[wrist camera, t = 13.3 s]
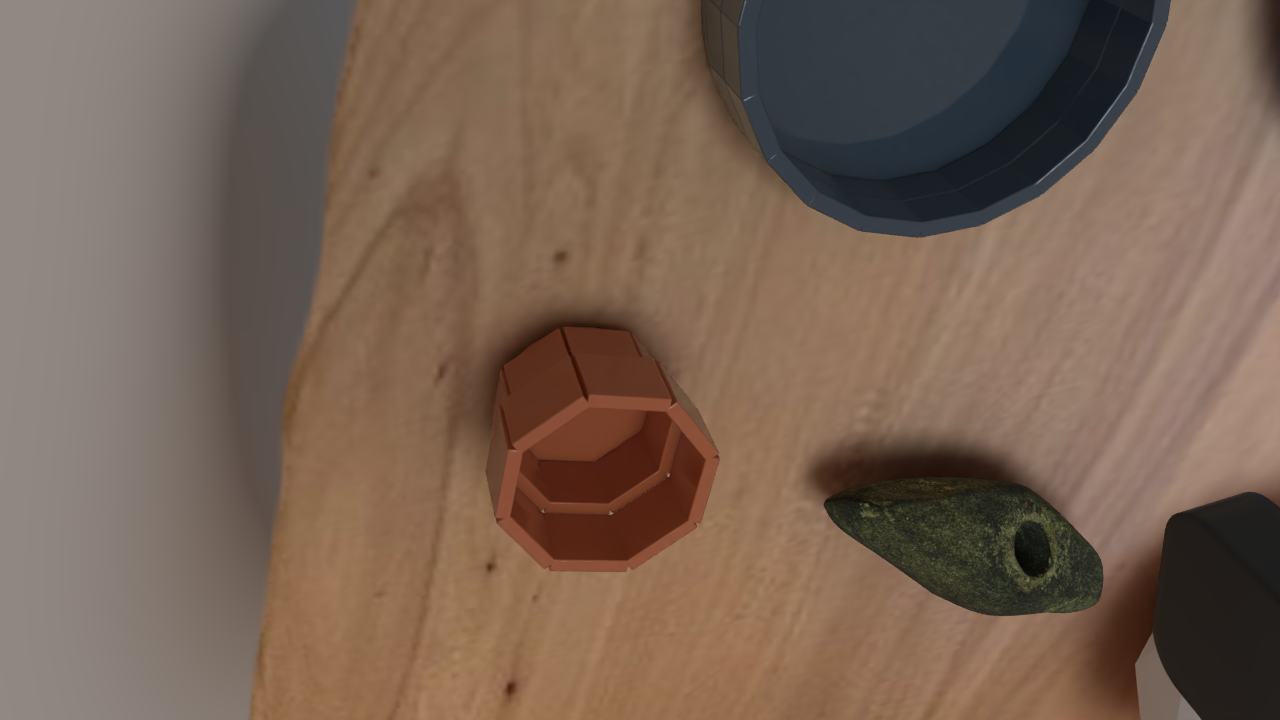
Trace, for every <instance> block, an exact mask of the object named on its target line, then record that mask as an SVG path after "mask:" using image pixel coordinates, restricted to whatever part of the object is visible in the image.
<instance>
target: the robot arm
mask: <svg viewBox="0 0 1280 720" xmlns="http://www.w3.org/2000/svg"><path fill="white" fill-rule="evenodd" d="M1152 628H1153V637H1154V642H1155V646H1156V649H1157V653H1158V655H1159V658H1160V661H1161V663H1162V665H1163V667H1164V669H1165V671H1166V673H1167V675H1168V677H1169V678H1170V680H1171V682H1172V683H1173V685H1174V686H1175V687H1176V689H1177V690H1178V691H1179V693H1180V694H1181V695H1182V696H1183V698H1184V699H1185V700H1186V701H1187V702H1188V704H1189V705H1190V706H1191V707H1192V709H1193V710H1194V711H1195V712H1196V714H1197V715H1198V716H1199V717H1200V718H1201V720H1280V508H1279V507H1278V506H1277V505H1276V504H1275V503H1273V502H1272V501H1271V500H1270V499H1268V498H1266V497H1265V496H1263V495H1261V494H1258V493H1255V492H1246V493H1242V494H1239V495H1235V496H1232V497H1229V498H1226V499H1222V500H1219V501H1216V502H1213V503H1209V504H1206V505H1203V506H1200V507H1196V508H1193V509H1190V510H1187V511H1183V512H1180V513H1177V514H1175V515H1173V516H1172V517H1171V518H1170V519H1169V520H1168V522H1167V525H1166V529H1165V534H1164V541H1163V549H1162V556H1161V563H1160V571H1159V578H1158V585H1157V593H1156V600H1155V607H1154V615H1153V625H1152Z"/></svg>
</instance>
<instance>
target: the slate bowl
mask: <svg viewBox="0 0 1280 720" xmlns="http://www.w3.org/2000/svg"><path fill="white" fill-rule="evenodd" d="M1170 2H1171V0H702V23H703V36H704V44H705V49H706V53H707V58H708V63H709V67H710V70H711V73H712V76H713V79H714V81H715V84H716V87H717V90H718V93H719V94H720V96H721V98H722V100H723V102H724V104H725V106H726V107H727V109H728V111H729V113H730V116H731V118H732V120H733V122H734V124H735V125H736V126H737V127H738V128H739V130H740V131H741V132H742V133H743V135H744V136H745V137H746V138H747V139H748V141H749V142H750V143H751V144H752V145H753V147H754V148H755V149H756V150H757V151H758V153H759V154H760V155H761V156H762V157H763V159H764V160H765V161H766V162H767V163H768V164H769V165H770V167H771V168H772V169H773V170H774V171H775V172H776V173H777V174H778V175H779V176H780V177H781V179H782V180H783V181H784V182H785V183H786V184H787V185H788V186H789V187H790V188H791V189H792V190H793V192H794V193H795V194H796V195H797V196H798V197H799V198H800V199H801V200H802V201H803V202H804V204H806V205H807V206H808V207H810V208H813V209H815V210H817V211H819V212H821V213H823V214H825V215H827V216H829V217H831V218H833V219H835V220H837V221H839V222H841V223H843V224H845V225H847V226H849V227H851V228H853V229H855V230H857V231H862V232H871V233H880V234H889V235H898V236H908V237H917V238H918V237H926V236H931V235H936V234H941V233H946V232H951V231H956V230H961V229H966V228H971V227H976V226H980V225H981V224H982V225H983V224H985V223H987V222H989V221H991V220H993V219H995V218H997V217H999V216H1001V215H1003V214H1005V213H1007V212H1009V211H1011V210H1013V209H1015V208H1017V207H1019V206H1021V205H1023V204H1025V203H1027V202H1029V201H1031V200H1033V199H1035V198H1037V197H1039V196H1040V195H1041V194H1044V193H1045V192H1046V191H1047V190H1048V189H1049V188H1051V187H1052V186H1053V185H1054V184H1055V183H1056V182H1058V181H1059V180H1060V179H1061V178H1062V177H1063V176H1065V175H1066V174H1067V173H1068V172H1069V171H1070V170H1072V169H1073V168H1074V167H1075V166H1076V165H1078V164H1079V163H1080V162H1081V161H1082V160H1083V159H1085V158H1086V157H1087V156H1088V155H1089V154H1090V153H1092V152H1093V151H1094V149H1095V148H1097V146H1098V145H1099V144H1100V142H1101V141H1102V139H1103V138H1104V137H1105V135H1106V134H1107V133H1108V131H1109V130H1110V129H1111V127H1112V126H1113V125H1114V123H1115V122H1116V121H1117V119H1118V118H1119V116H1120V115H1121V114H1122V112H1123V111H1124V110H1125V108H1126V107H1127V106H1128V104H1129V103H1130V102H1131V100H1132V99H1133V98H1134V96H1135V95H1136V93H1137V90H1139V88H1140V86H1141V84H1142V81H1143V79H1144V77H1145V74H1146V72H1147V69H1148V67H1149V65H1150V62H1151V60H1152V58H1153V55H1154V53H1155V51H1156V48H1157V46H1158V44H1159V41H1160V39H1161V37H1162V34H1163V32H1164V30H1165V27H1166V23H1167V21H1168V15H1169V9H1170Z"/></svg>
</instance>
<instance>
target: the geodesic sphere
mask: <svg viewBox="0 0 1280 720" xmlns="http://www.w3.org/2000/svg"><path fill="white" fill-rule="evenodd" d="M1135 670H1136V680H1137V690H1138V701H1139V711H1140V720H1201V718H1200V717H1199V716H1198V715H1197V714H1196V712H1195V711H1194V710H1193V709H1192V707H1191V706H1190V705H1189V704H1188V702H1187V701H1186V700H1185V699H1184V698H1183V696H1182V695H1181V694H1180V693H1179V691H1178V690H1177V689H1176V687H1175V686H1174V685H1173V683H1172V682H1171V680H1170V678H1169V677H1168V675H1167V673H1166V671H1165V669H1164V667H1163V665H1162V663H1161V661H1160V658H1159V655H1158V653H1157V649H1156V646H1155V642H1154V637H1153V632H1152V634H1151V636H1150V638H1149V640H1148V641H1147V643H1146V645H1145V647H1144V649H1143V651H1142V652H1141V654H1140V656H1139V658H1138V660H1137V662H1136V663H1135Z"/></svg>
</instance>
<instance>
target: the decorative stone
mask: <svg viewBox="0 0 1280 720" xmlns="http://www.w3.org/2000/svg"><path fill="white" fill-rule="evenodd" d="M824 507H825V509H826V511H827V513H828V515H829V516H830V518H831V519H832V520H833V522H834V523H835V524H836V525H837V526H838V527H839V528H840V529H841V530H843V531H844V532H845V533H846V534H848V535H849V536H851V537H852V538H854V539H855V540H857V541H858V542H860V543H861V544H863V545H864V546H866V547H867V548H869V549H870V550H872V551H873V552H875V553H876V554H878V555H879V556H881V557H882V558H884V559H885V560H886V561H888V562H889V563H891V564H892V565H894V566H895V567H896V568H898V569H899V570H901V571H902V572H903V573H905V574H906V575H908V576H909V577H910V578H912V579H913V580H915V581H916V582H918V583H919V584H920V585H922V586H923V587H924V588H926V589H927V590H929V591H930V592H931V593H933V594H935V595H937V596H939V597H941V598H943V599H945V600H948V601H950V602H952V603H954V604H956V605H958V606H961V607H963V608H966V609H968V610H971V611H974V612H977V613H981V614H985V615H994V616H1014V615H1027V614H1036V613H1045V612H1048V613H1071V612H1076V611H1080V610H1084V609H1087V608H1089V607H1091V606H1093V605H1095V604H1096V603H1097V602H1098V601H1099V599H1100V596H1101V592H1102V586H1103V566H1102V562H1101V559H1100V557H1099V555H1098V554H1097V552H1096V551H1095V550H1094V548H1093V547H1092V546H1091V545H1090V544H1089V543H1088V542H1087V540H1086V539H1085V538H1084V537H1083V536H1082V535H1081V534H1080V533H1079V532H1078V531H1077V530H1076V529H1075V528H1074V527H1073V526H1072V525H1071V524H1070V523H1069V522H1068V521H1067V520H1066V519H1065V518H1064V517H1063V516H1062V515H1061V514H1060V513H1059V512H1058V511H1057V510H1056V509H1055V508H1053V507H1052V506H1051V505H1050V504H1049V503H1048V502H1047V501H1045V500H1044V499H1043V498H1042V497H1041V496H1039V495H1038V494H1036V493H1035V492H1034V491H1032V490H1031V489H1029V488H1027V487H1025V486H1022V485H1019V484H1015V483H1010V482H1006V481H998V480H990V479H980V478H962V477H917V478H904V479H894V480H887V481H880V482H874V483H868V484H864V485H859V486H855V487H852V488H849V489H846V490H843V491H841V492H839V493H837V494H835V495H833V496H831V497H829V498H828V499H826V500H825V502H824Z"/></svg>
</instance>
